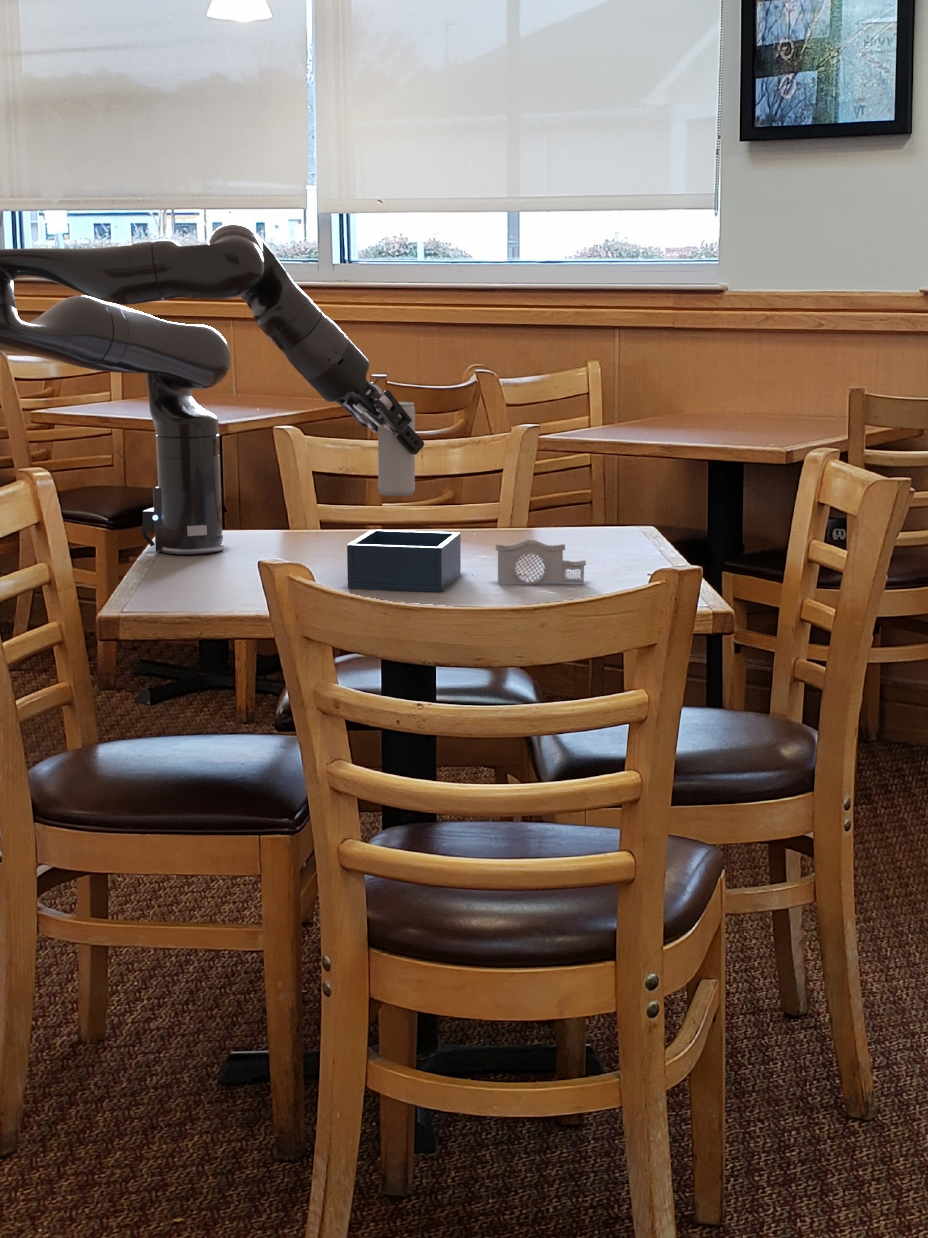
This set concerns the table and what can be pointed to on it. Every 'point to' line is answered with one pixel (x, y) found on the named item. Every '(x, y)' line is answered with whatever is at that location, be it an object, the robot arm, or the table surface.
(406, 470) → the beverage can
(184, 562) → the table surface
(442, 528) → the table surface
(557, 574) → the garden wall model
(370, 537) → the bin
